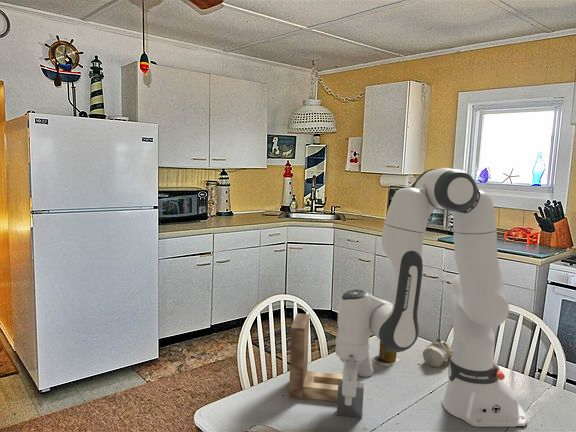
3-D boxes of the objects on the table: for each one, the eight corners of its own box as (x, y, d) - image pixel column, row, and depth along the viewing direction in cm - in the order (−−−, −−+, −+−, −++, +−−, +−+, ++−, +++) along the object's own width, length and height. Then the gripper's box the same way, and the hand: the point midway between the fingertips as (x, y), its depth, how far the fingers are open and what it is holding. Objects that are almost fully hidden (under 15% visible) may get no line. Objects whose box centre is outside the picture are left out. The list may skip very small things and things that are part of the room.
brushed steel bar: (361, 412, 131) (363, 383, 129) (362, 418, 128) (363, 388, 126) (337, 409, 132) (338, 380, 130) (336, 415, 129) (338, 385, 127)
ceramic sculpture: (416, 339, 161) (433, 329, 173) (414, 363, 162) (431, 352, 174) (446, 348, 154) (462, 338, 166) (443, 373, 155) (459, 361, 167)
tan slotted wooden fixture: (350, 384, 146) (354, 317, 143) (349, 404, 135) (353, 332, 131) (294, 378, 149) (296, 313, 146) (289, 397, 137) (291, 327, 134)
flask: (373, 378, 150) (375, 349, 149) (351, 376, 152) (353, 347, 150) (374, 368, 157) (376, 340, 156) (353, 366, 159) (354, 338, 157)
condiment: (401, 359, 165) (403, 327, 163) (387, 367, 159) (389, 334, 157) (383, 353, 170) (385, 322, 168) (370, 359, 164) (372, 327, 162)
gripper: (363, 366, 116) (359, 417, 118) (363, 335, 136) (360, 378, 138) (338, 363, 117) (335, 414, 119) (342, 333, 137) (339, 376, 139)
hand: (348, 394), depth 129 cm, fingers open, 8 cm apart
